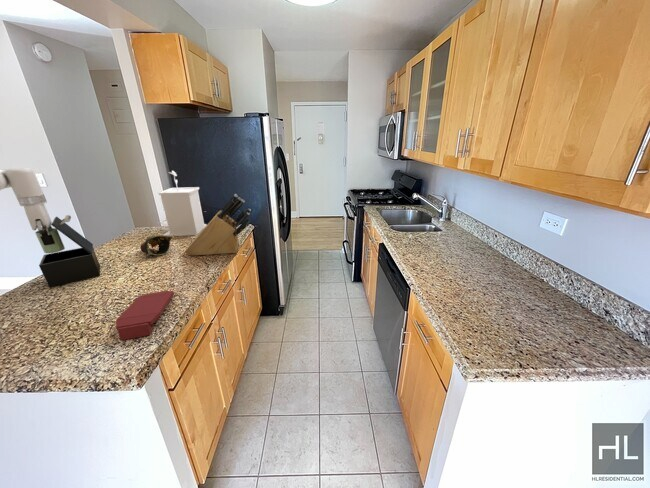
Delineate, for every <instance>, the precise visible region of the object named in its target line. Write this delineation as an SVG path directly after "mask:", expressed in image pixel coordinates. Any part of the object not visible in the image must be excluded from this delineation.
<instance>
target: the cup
mask: <svg viewBox="0 0 650 488" xmlns="http://www.w3.org/2000/svg"><path fill="white" fill-rule="evenodd" d="M46 232H47V231H46ZM49 232H50V235H52V237H53V239H54V242H55V244H51V245H44V244H43V241H42V239H41V237H40V234H39V231H38V230H37V231H35V232H34V234H35V236H36V238H37V240H38V242H39V245H40V247H41V249H42V251H43V253H44V254H51V253H56V252H61V251H65V249H66V247H65V245H64V242H63V240H62V237H61V235H60V233H59V230H57V229H56V228H55V227H52V228H49Z"/></svg>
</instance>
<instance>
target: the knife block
mask: <svg viewBox="0 0 650 488" xmlns="http://www.w3.org/2000/svg"><path fill="white" fill-rule="evenodd" d="M244 204H245V199H244V198H243V199H242V198H241V197H238V194H237V193H234V194H233V196H232V197H230V199H229V200H228V201H227V202H226V204H224V206H223V207H222V208H221V210H219V211H218V212H217V213H216V214H215V216H213V218H212V219H211V220H210V221H209V222H208V223H206V226H205V227H204V228H203V229H202V230H201V231H200V232H199V233H198V234H197V235H196V237H195V238H194V239H193V240H192V242H191V243H190V244H189V245H188V247H186V249H185V250H184V253H185V254H187V255H189V256H206V255H207V256H208V255H220V254H235V253H237V251H238V248H239V245H240V244H239V236H238V235H239V234H241V233H242V232H244V230H245V229H246V228H247V227H249V225H250V222H251V218H248V217H249V216H250V212H251V211H252V209H251V208H247V209H243V211H241V212H240V214H238V216H237V217H236V218H235V219H233V218H232V217H233V216H234V215H235V214H236V213H237V212H238V210H240V208H241V207H242V206H243V205H244Z"/></svg>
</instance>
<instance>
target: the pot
mask: <svg viewBox="0 0 650 488" xmlns="http://www.w3.org/2000/svg"><path fill="white" fill-rule="evenodd" d="M174 237H175V236H174V235H171V236H163V235H161V234H154V235H150V236H148V237H147V238H146V239H145V241H144V242H143V243H141V244H140V248H139V249H140V251H141V252H142V253H145V256H151V255H152V256H163V255H165V254H166V253H167V252H169V250H170V248H171V241H172V240H173V238H174ZM149 245H150V246H149ZM157 246H158V250H156V251H152V250H151V248H152V249H154V248H156V247H157ZM150 247H151V248H150Z"/></svg>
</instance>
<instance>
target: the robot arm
mask: <svg viewBox="0 0 650 488" xmlns="http://www.w3.org/2000/svg"><path fill="white" fill-rule="evenodd" d="M36 175H37V174H36V173H35V171H34V170H33V168H30V167H29V168H28V167H17V168H8V169H5V168H4V169H1V168H0V191H2V190H5V189H8V188H11V189H12V191H13V194H14V195H15V198H16V200H17V202H18V204H19V206H20V207H23V209H24V212H25V215H26V218H27V220H28V222H29V225H30V227H31V230H32V231H36V230H37V231H39V234H40V237H41V239H42V241H43V244H44V245H51V244H55V242H54V239H53V237H52V235H50V232H49V228H53V226H52V225H51V224H52V222H53V221H52V218H51V216H50V214H49V212H48V209H47V207H46V205H45V204H47V203H48V201H47V199H46V197H45V194H44V192H43V190H42V187H41V184H40V182H39V180H38V178H37V176H36ZM46 231H47V232H46Z"/></svg>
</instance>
